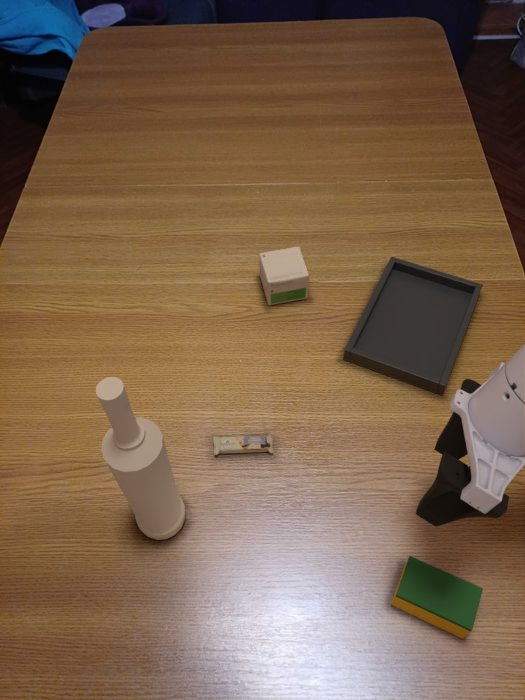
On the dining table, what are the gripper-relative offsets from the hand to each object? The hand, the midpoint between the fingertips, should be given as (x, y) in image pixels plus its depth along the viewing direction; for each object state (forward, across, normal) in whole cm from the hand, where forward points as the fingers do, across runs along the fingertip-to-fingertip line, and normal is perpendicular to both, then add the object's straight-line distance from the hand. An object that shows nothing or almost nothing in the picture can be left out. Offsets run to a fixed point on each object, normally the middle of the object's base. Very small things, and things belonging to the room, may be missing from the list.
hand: (436, 483), depth 52 cm
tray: (+8, -30, -5) cm, 31 cm away
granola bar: (+17, -6, -16) cm, 24 cm away
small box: (+13, -29, -23) cm, 39 cm away
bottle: (+22, +5, -19) cm, 29 cm away
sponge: (+12, +2, +8) cm, 15 cm away
